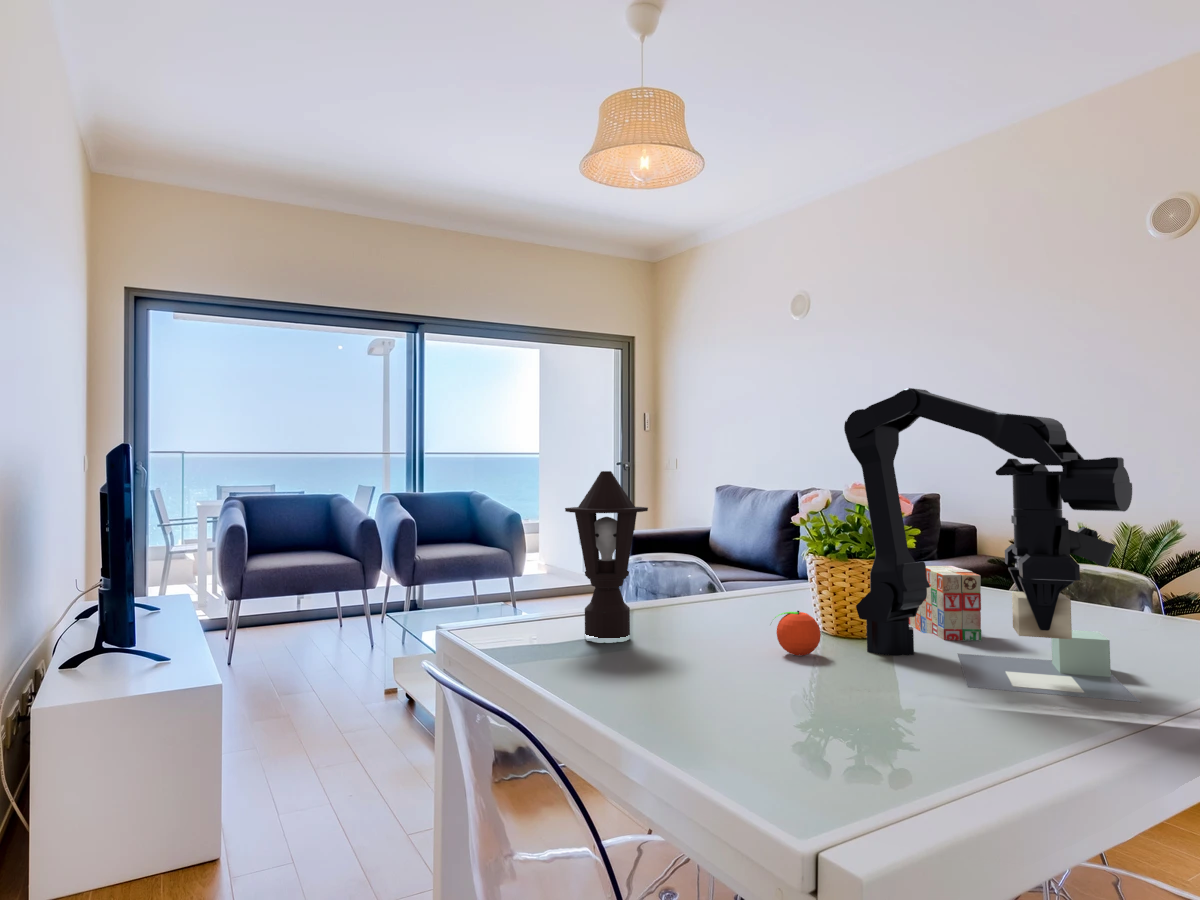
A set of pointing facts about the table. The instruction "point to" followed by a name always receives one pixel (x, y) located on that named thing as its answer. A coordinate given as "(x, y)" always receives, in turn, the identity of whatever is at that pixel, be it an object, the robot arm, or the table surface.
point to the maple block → (1027, 623)
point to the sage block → (1082, 654)
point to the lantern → (606, 554)
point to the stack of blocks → (950, 604)
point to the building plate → (1037, 678)
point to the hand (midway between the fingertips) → (1040, 625)
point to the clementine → (798, 633)
